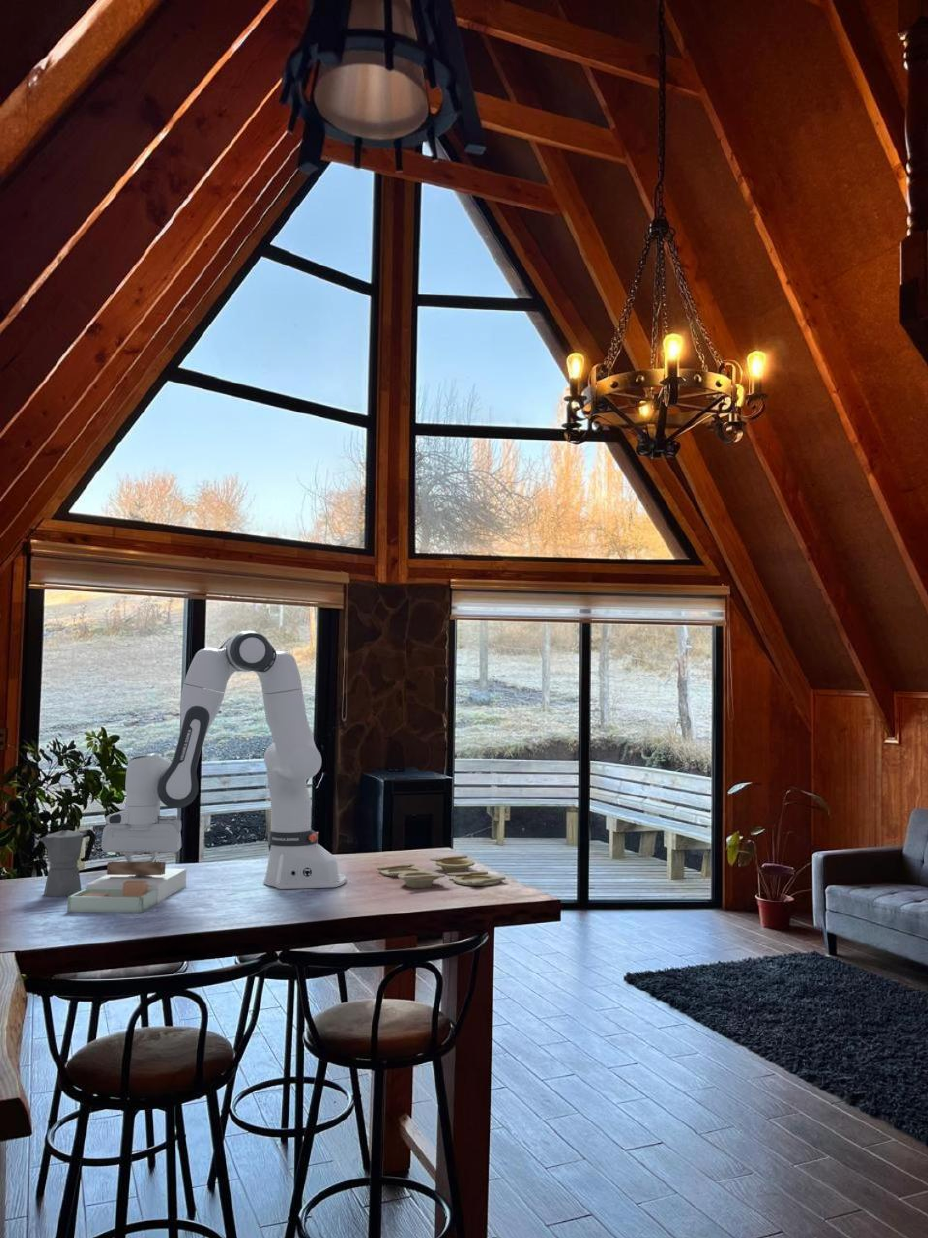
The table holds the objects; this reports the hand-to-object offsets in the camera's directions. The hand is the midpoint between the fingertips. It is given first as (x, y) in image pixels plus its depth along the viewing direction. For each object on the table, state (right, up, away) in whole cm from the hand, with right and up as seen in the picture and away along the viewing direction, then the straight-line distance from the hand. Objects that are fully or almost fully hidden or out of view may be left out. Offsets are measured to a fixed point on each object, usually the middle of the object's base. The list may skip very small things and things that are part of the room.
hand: (141, 869), depth 242 cm
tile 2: (-5, -2, -18) cm, 18 cm away
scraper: (0, -1, +1) cm, 1 cm away
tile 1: (+3, -2, -13) cm, 14 cm away
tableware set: (+77, -9, +21) cm, 80 cm away
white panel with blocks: (0, -6, -2) cm, 6 cm away
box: (-1, -5, -17) cm, 18 cm away
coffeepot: (-19, -6, 0) cm, 20 cm away
